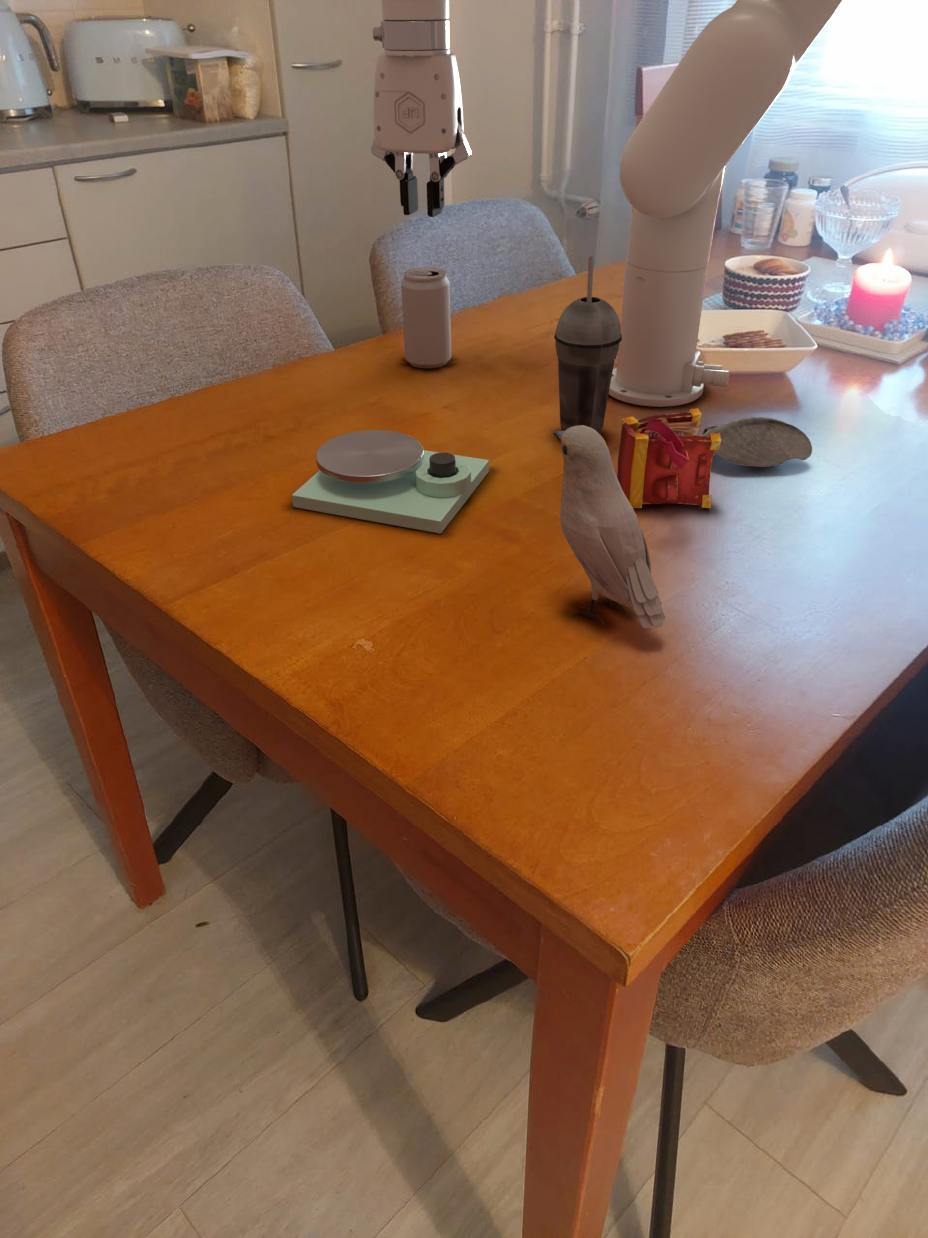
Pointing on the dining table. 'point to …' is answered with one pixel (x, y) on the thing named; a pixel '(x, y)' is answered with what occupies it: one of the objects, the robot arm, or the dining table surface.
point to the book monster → (666, 460)
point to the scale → (397, 495)
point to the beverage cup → (586, 358)
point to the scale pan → (369, 456)
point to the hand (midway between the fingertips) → (422, 212)
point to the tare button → (442, 465)
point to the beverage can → (426, 317)
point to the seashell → (760, 441)
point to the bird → (605, 529)
